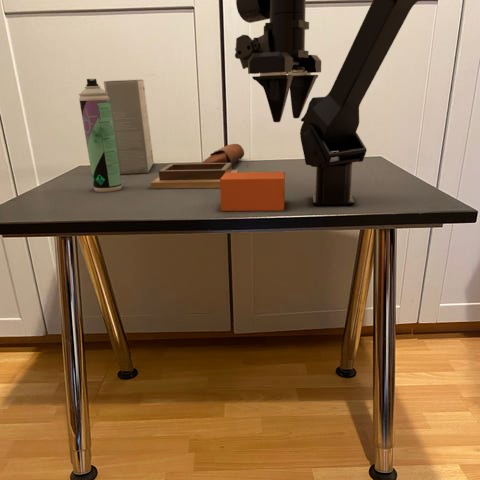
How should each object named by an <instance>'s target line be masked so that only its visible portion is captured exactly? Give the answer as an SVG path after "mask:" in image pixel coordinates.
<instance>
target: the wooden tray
mask: <svg viewBox="0 0 480 480" xmlns="http://www.w3.org/2000/svg"><path fill="white" fill-rule="evenodd" d="M225 173H240V171H239V169H233V166H232V163H203V162H198V163H194V162H193V163H192V162H191V163H168V164H167V165H166V166H164V167H163V168H161V169H159V171H158V177H157V178H155V179H153V180H152V181H151V182H150V188H151V189H152V190H153V189H155V190H157V189H220V179H221V177H222V176H223V175H224V174H225Z"/></svg>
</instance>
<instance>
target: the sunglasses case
mask: <svg viewBox="0 0 480 480" xmlns="http://www.w3.org/2000/svg"><path fill="white" fill-rule="evenodd" d="M209 155H210V156H208V157H207V158H206V159H204V161H202V163H232V167H234V165H235V164H236V163H237V161H239V160H242V159H243V157H244V156H245V151H244V148H243V147H242V145H241V144H239V143H231V144H227V145H225V146H223V147H221V148H219V149H217V150H214V151H213V152H211V153H210V154H209Z"/></svg>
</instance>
